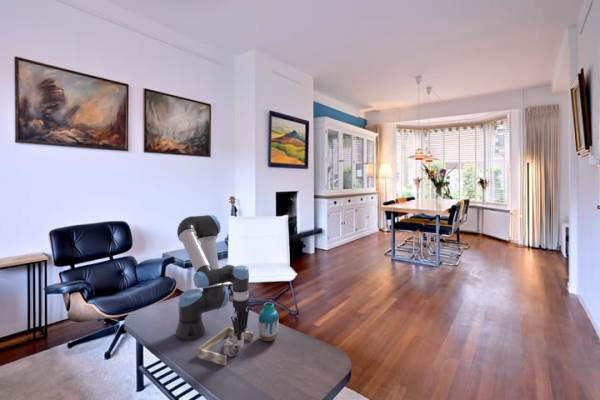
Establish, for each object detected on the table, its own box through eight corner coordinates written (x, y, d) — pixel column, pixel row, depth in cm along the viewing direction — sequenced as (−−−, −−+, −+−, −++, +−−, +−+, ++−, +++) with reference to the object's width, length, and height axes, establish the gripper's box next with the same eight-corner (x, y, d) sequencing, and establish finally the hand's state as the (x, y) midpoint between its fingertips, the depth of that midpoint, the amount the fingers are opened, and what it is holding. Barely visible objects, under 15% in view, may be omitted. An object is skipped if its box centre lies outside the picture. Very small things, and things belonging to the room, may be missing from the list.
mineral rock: (234, 359, 141) (235, 350, 141) (218, 358, 142) (218, 349, 142) (244, 342, 156) (244, 334, 156) (229, 341, 157) (229, 333, 157)
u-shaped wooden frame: (196, 357, 142) (196, 348, 142) (227, 333, 165) (227, 326, 165) (225, 365, 136) (225, 357, 136) (253, 339, 159) (253, 332, 158)
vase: (275, 345, 153) (275, 309, 152) (255, 343, 155) (255, 307, 154) (280, 335, 164) (281, 301, 162) (262, 333, 166) (262, 299, 164)
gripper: (239, 304, 138) (239, 353, 140) (254, 294, 150) (254, 340, 152) (226, 301, 141) (226, 350, 143) (241, 292, 153) (241, 337, 155)
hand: (240, 345), depth 147 cm, fingers closed
